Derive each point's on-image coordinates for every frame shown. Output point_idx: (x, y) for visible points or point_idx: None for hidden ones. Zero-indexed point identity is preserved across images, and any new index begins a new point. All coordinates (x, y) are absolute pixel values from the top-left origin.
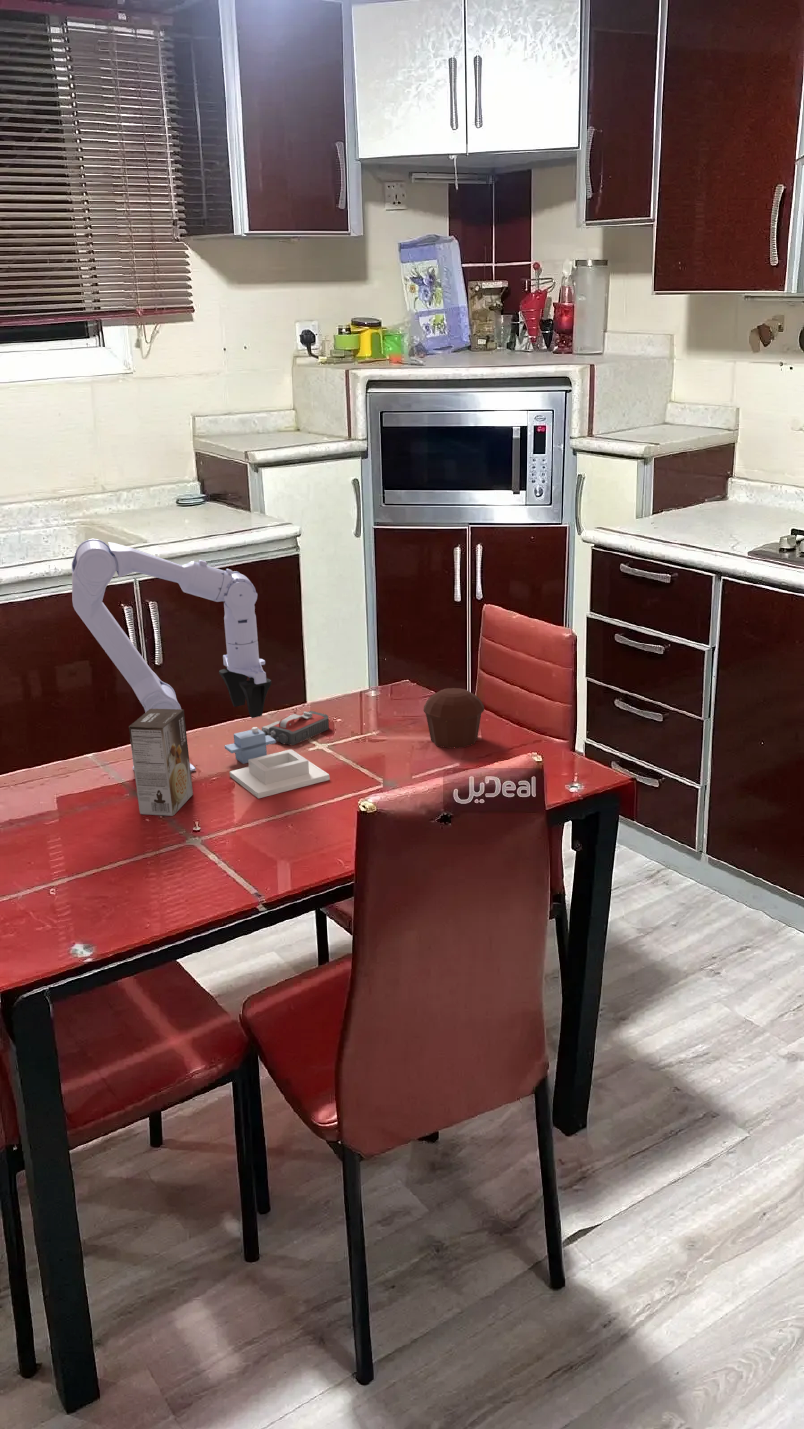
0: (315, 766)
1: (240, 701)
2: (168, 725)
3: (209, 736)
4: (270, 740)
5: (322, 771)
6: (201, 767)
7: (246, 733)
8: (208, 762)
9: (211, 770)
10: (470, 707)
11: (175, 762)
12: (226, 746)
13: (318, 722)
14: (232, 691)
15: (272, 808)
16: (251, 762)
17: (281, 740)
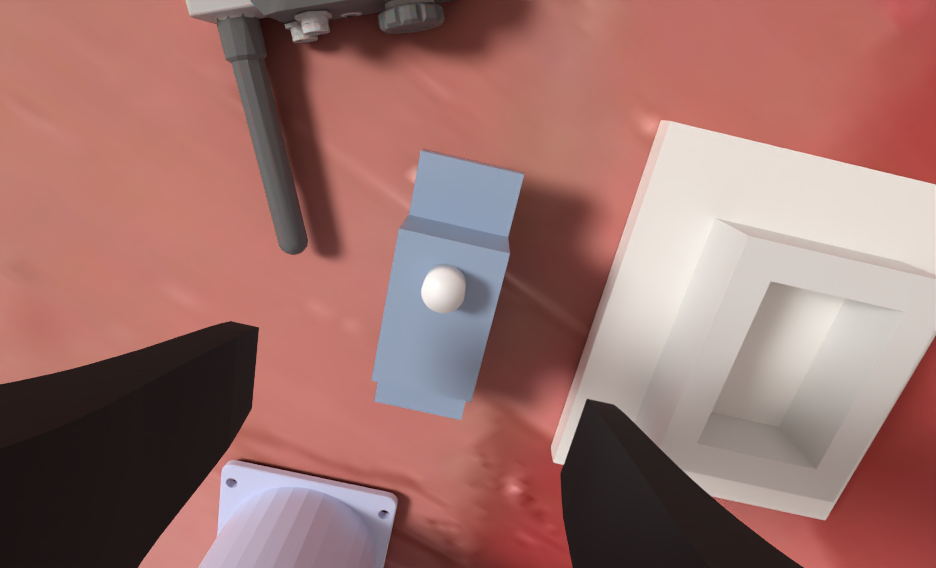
0: (875, 178)
1: (237, 378)
2: None
3: (52, 227)
4: (506, 200)
5: None
6: (378, 458)
7: (423, 330)
8: (352, 413)
9: (436, 452)
10: None
11: None
12: (395, 404)
13: None
14: (160, 516)
15: (921, 521)
16: (689, 470)
17: (406, 29)
